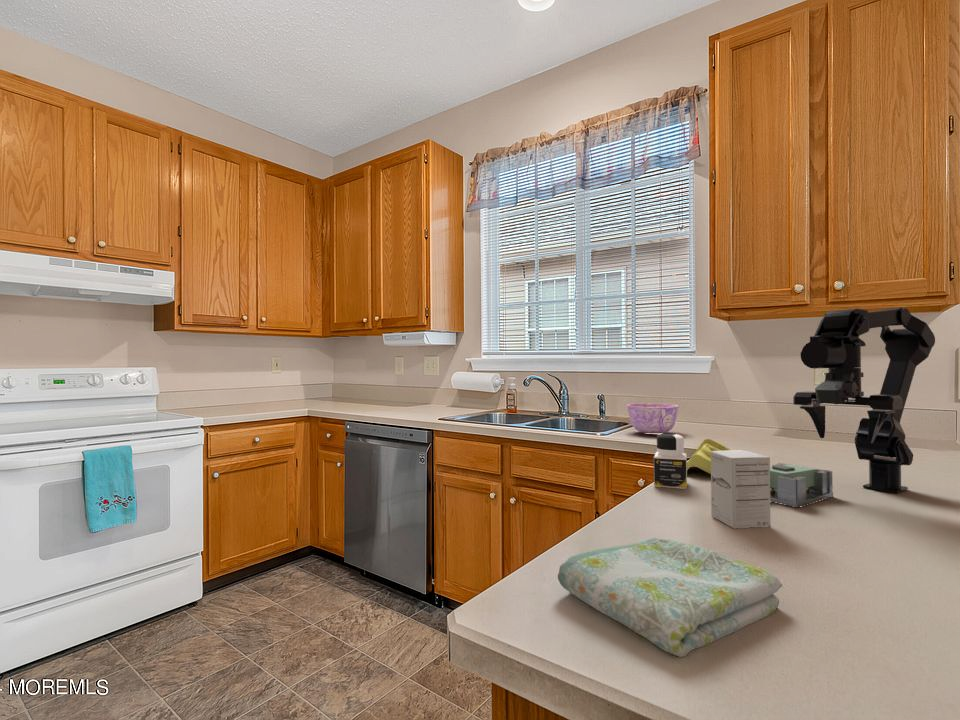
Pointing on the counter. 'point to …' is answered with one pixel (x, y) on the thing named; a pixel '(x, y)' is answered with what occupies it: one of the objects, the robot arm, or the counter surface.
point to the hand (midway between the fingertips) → (845, 440)
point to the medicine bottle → (670, 462)
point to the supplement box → (740, 488)
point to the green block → (792, 474)
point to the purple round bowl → (653, 417)
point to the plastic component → (705, 455)
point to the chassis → (802, 489)
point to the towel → (672, 591)
